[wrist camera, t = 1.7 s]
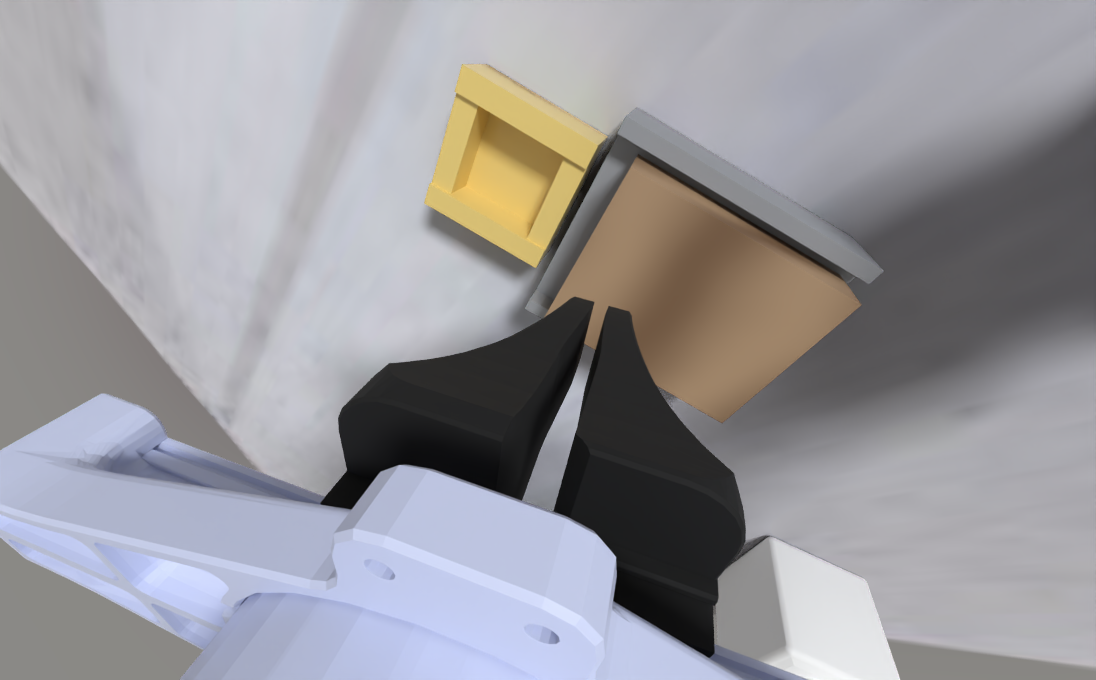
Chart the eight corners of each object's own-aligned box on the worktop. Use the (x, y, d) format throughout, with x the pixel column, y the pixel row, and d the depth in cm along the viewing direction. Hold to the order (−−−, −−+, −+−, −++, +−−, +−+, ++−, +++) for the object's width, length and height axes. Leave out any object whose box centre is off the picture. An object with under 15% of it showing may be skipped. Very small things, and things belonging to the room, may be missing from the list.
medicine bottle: (712, 575, 32) (721, 790, 23) (768, 532, 28) (810, 774, 19) (797, 615, 32) (844, 849, 23) (868, 577, 28) (962, 847, 18)
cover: (839, 274, 16) (861, 305, 14) (718, 387, 20) (722, 423, 18) (638, 154, 16) (630, 167, 14) (557, 293, 20) (542, 319, 18)
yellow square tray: (608, 136, 18) (598, 145, 16) (549, 249, 22) (535, 268, 20) (486, 64, 18) (462, 64, 16) (448, 190, 21) (424, 203, 19)
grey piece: (852, 236, 17) (884, 271, 15) (711, 373, 23) (715, 418, 20) (636, 107, 17) (626, 115, 14) (545, 277, 22) (524, 308, 20)
